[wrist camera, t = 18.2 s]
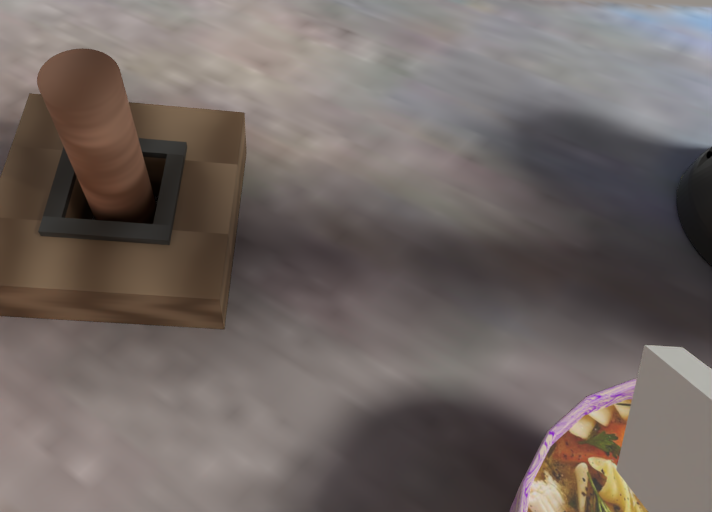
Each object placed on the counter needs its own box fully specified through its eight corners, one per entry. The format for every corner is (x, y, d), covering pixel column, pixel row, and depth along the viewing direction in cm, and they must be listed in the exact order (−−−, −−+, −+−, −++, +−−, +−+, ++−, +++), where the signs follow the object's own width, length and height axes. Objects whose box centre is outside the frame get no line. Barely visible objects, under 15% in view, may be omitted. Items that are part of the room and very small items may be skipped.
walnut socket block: (246, 152, 55) (244, 107, 50) (224, 329, 47) (219, 295, 42) (49, 136, 54) (27, 87, 49) (-8, 315, 46) (-41, 278, 41)
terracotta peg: (165, 206, 52) (127, 52, 38) (156, 254, 50) (111, 110, 36) (108, 201, 51) (48, 45, 37) (96, 250, 49) (27, 103, 35)
